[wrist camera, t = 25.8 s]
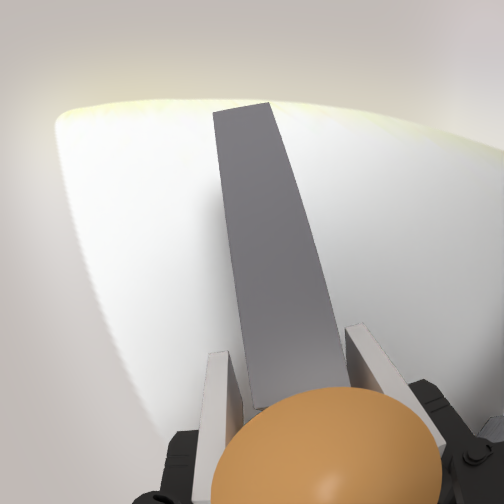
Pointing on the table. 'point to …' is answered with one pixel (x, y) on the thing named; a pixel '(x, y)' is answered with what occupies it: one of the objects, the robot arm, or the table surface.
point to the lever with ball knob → (301, 353)
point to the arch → (493, 429)
